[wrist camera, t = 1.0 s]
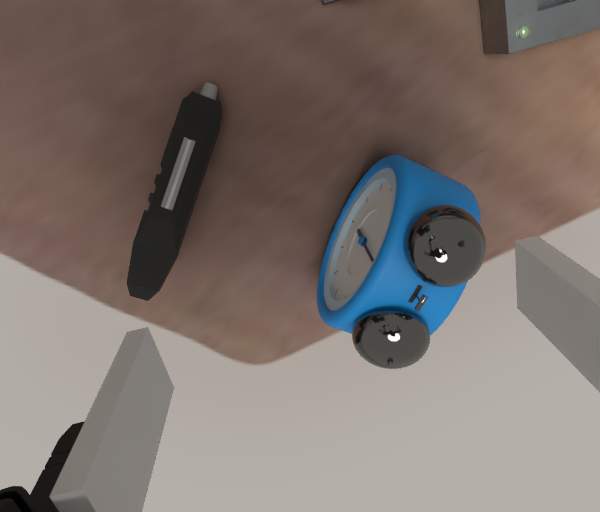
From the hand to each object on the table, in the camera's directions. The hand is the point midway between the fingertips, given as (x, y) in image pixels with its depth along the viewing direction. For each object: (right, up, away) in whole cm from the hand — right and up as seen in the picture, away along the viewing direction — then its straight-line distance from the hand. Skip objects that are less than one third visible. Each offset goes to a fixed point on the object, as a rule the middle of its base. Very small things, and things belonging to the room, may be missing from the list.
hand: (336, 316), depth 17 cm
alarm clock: (+5, +5, +24) cm, 25 cm away
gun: (-11, +9, +22) cm, 26 cm away
